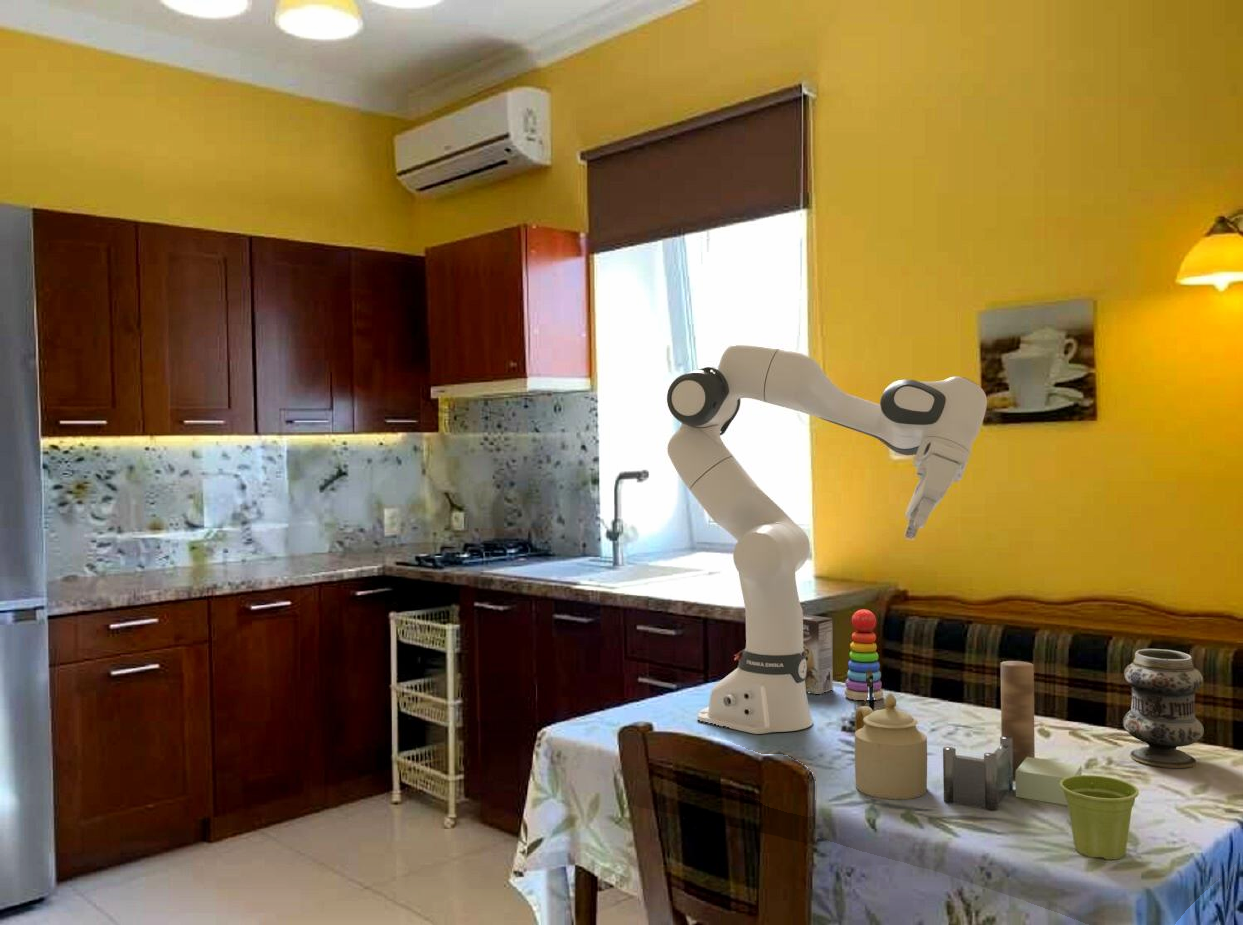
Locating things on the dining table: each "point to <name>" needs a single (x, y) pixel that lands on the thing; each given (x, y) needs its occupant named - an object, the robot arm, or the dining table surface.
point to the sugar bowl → (889, 753)
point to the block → (1044, 779)
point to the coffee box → (818, 653)
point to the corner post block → (978, 777)
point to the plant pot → (1099, 814)
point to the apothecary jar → (1163, 707)
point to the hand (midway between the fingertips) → (913, 532)
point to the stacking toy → (863, 658)
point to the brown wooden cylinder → (1018, 709)
